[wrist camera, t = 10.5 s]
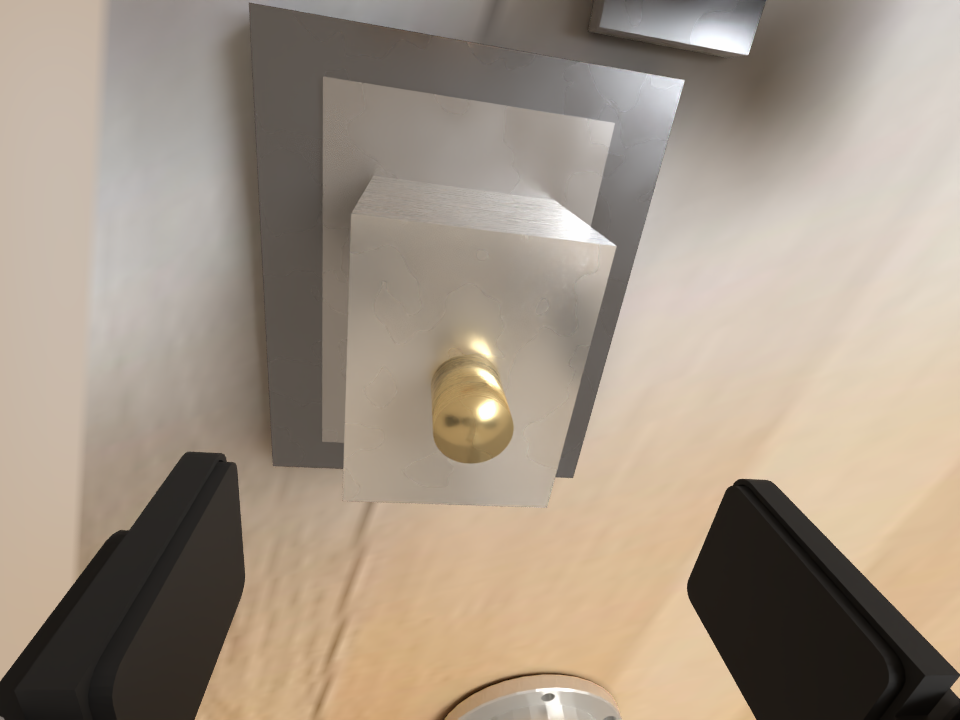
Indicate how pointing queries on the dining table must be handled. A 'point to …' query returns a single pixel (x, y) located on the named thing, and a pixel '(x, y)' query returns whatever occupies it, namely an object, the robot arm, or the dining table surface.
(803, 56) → the dining table surface
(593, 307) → the block
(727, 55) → the press bed
